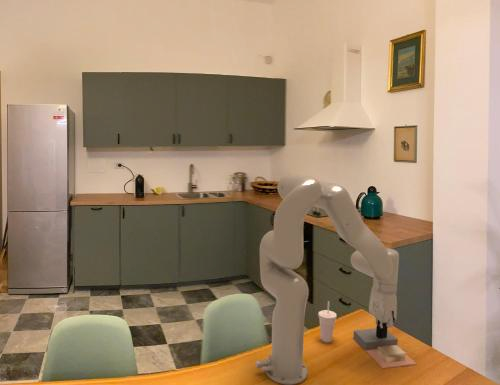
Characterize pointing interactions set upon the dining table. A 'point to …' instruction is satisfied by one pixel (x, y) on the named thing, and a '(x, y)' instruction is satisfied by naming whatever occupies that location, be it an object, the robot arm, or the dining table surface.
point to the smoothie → (327, 324)
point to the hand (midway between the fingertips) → (381, 337)
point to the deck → (373, 339)
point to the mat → (385, 365)
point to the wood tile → (391, 353)
